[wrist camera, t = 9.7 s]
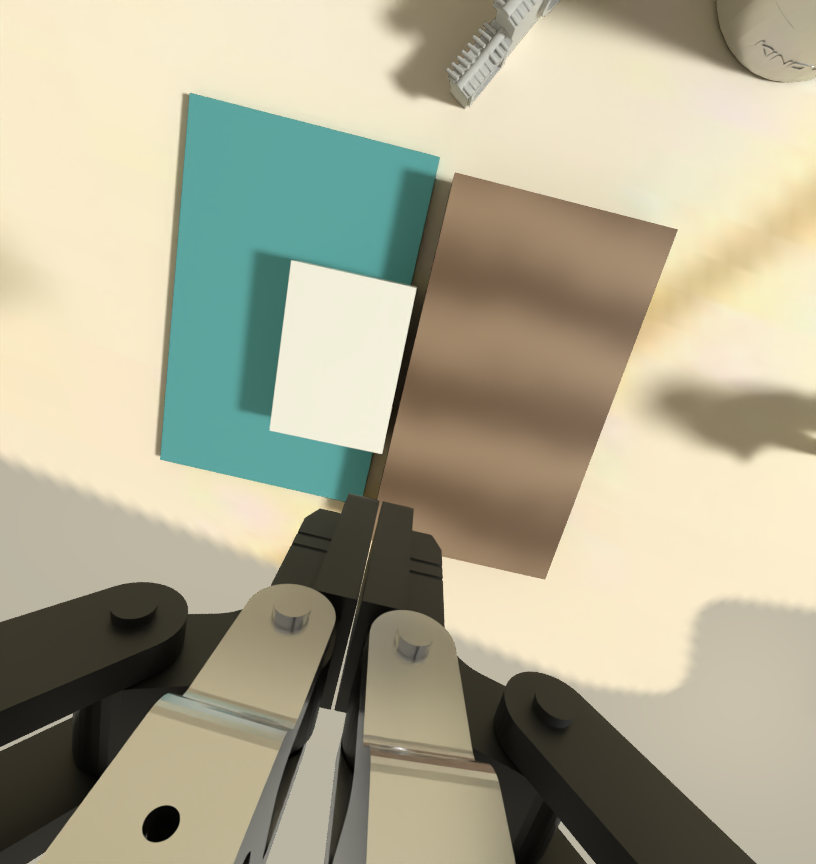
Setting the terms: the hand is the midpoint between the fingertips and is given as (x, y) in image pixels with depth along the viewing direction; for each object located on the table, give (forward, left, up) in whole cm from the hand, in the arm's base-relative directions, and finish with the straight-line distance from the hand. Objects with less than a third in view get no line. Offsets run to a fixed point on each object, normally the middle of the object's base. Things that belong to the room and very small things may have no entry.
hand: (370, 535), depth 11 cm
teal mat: (-1, -8, -21) cm, 23 cm away
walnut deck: (0, +6, -21) cm, 22 cm away
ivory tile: (0, -4, -20) cm, 20 cm away
